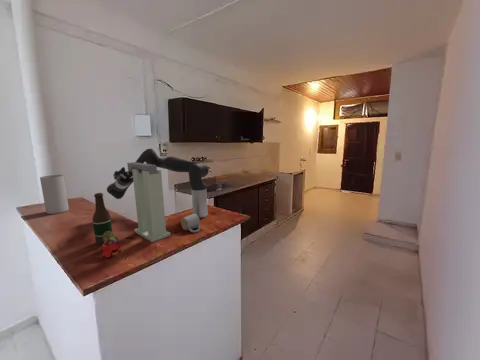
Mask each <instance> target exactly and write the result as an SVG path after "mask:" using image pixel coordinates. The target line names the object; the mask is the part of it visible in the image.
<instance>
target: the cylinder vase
mask: <svg viewBox="0 0 480 360" xmlns="http://www.w3.org/2000/svg"><path fill="white" fill-rule="evenodd" d="M39 179H40V180H39V181H40V185H41V192H42V196H43V198H42V199H43V202H44V209H45V213H46V214H47V215H57V214H63V213H64V212H65V213H66V212H68V211H69V209H70V208H69V202H68V194H67V188H66V183H65V177H64V175H63V174H53V175H51V174H50V175H44V176H40V177H39Z"/></svg>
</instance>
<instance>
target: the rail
mask: <svg viewBox="0 0 480 360" xmlns="http://www.w3.org/2000/svg"><path fill="white" fill-rule="evenodd" d="M132 169H137V170H139V173H142V171H149V175H150V174H157V170H158V167H156V165H151V164H147V163H145V162H144V163H137V162H136V161H135V162H127V171H132Z"/></svg>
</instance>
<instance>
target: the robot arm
mask: <svg viewBox="0 0 480 360" xmlns="http://www.w3.org/2000/svg"><path fill="white" fill-rule="evenodd" d="M135 162H137V163H144V164H151V165H156V167H157V168H160V169H164V170H168V171H172V172H174V173H188V181H189V185H190V187H191V188H190V189H191V200H192V201H191V202H192V203H191V205H192V214H197V216H198V217H199V219H200V218H206V217H207V216H208V214H209V213H208V195H207V190H208V189H207V184H206V183H205V182H203V178H204V177H206V176H207V175H208V174H209V171H210V170H209V166H207V165H206V164H205V163H204V162H196V161H190V160H187V159H183V158H179V157H176V156H167V157H166V158H161V157H160V156H158V154H157V152H156V151H155V150H154V149H153V148H147V149H145V150H143V152H142V153H141V154H140V155H139V156H138V158H137V159H136V160H135ZM113 179H114V180H115V181H114V182H112V183H110V184H109V185H108V186H107V188H106V193H108V194H109V195H111V196H112V197H113V198H115V199H116V200H120V199H122V198H123V197H124V196H125V194H126V192H127V191H128V189H129V187H130V186H131V185H132V184H134V181H133V172H132V171H129V170H127V171H126V168H125V166H123V167H122V168H120V169H119V170H115V171H114V173H113Z"/></svg>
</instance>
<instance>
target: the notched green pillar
mask: <svg viewBox="0 0 480 360" xmlns="http://www.w3.org/2000/svg"><path fill="white" fill-rule="evenodd" d="M132 172H133V181H134V182H133V190H134V199H135V207H136V208H135V209H136V217H137V227H138V228H135V229H134V232H135V233H136V234H137V235H139V236H140V237H142V238H144V239H146V240H147V241H150V242H151V243H154V242H158V241H159V240H162V239H164V238H167V237H170V236H171V232H170V231H169V230H167V227H166V226H167V225H166V223H167V222H166V214H165V202H164V200H165V199H164V189H163V179H162V169H157V174H150V175H149V171H142V173H139V170H137V169H132Z"/></svg>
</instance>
